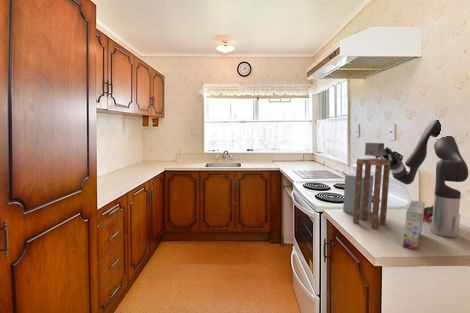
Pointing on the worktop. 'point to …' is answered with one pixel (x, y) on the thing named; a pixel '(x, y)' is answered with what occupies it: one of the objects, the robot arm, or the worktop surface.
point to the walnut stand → (377, 186)
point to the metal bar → (375, 149)
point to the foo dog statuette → (428, 212)
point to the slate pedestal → (350, 193)
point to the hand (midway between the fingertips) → (382, 148)
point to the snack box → (413, 225)
